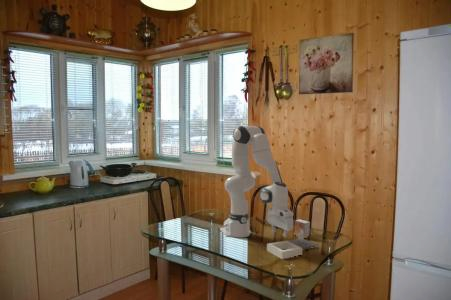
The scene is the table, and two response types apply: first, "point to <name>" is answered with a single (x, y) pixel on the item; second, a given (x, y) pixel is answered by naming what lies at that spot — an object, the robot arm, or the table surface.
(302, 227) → the small box
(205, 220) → the table surface
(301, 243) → the keeper plate
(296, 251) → the link
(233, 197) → the robot arm
